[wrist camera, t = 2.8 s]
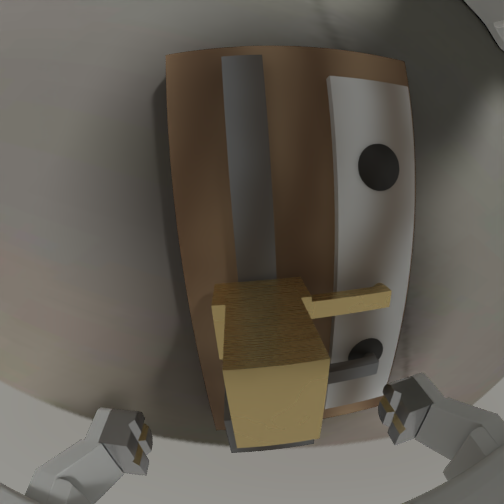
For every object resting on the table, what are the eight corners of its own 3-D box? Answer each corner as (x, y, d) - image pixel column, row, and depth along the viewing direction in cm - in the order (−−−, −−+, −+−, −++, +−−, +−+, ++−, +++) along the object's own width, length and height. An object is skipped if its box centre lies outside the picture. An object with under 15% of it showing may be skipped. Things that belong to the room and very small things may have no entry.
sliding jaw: (388, 257, 15) (477, 320, 8) (381, 318, 16) (448, 398, 9) (213, 273, 15) (197, 371, 7) (222, 338, 16) (217, 448, 8)
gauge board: (389, 69, 14) (465, 33, 7) (373, 390, 22) (408, 454, 14) (173, 66, 14) (131, 3, 6) (217, 413, 22) (214, 490, 14)
